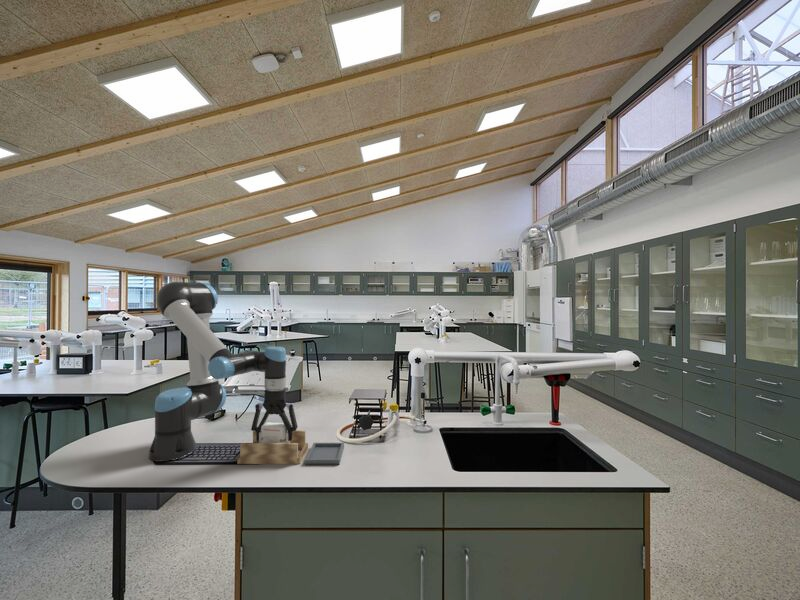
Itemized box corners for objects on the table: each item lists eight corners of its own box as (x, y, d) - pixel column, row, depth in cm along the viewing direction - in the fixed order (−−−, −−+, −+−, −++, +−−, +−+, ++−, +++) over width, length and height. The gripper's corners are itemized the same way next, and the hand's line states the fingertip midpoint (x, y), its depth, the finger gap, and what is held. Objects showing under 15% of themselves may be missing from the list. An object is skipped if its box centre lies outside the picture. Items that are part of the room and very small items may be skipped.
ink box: (288, 453, 145) (288, 422, 145) (282, 459, 141) (283, 427, 140) (266, 452, 147) (267, 421, 147) (260, 457, 142) (260, 425, 142)
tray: (305, 465, 136) (305, 460, 136) (313, 447, 152) (313, 442, 152) (339, 464, 137) (339, 459, 137) (344, 447, 153) (344, 442, 153)
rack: (237, 463, 136) (237, 444, 136) (251, 448, 150) (251, 430, 150) (300, 463, 137) (300, 444, 137) (307, 448, 151) (308, 430, 151)
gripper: (241, 391, 139) (240, 453, 139) (302, 391, 140) (301, 453, 140) (248, 386, 147) (248, 445, 147) (306, 386, 147) (305, 445, 148)
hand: (274, 449), depth 144 cm, fingers closed on ink box, 9 cm apart
